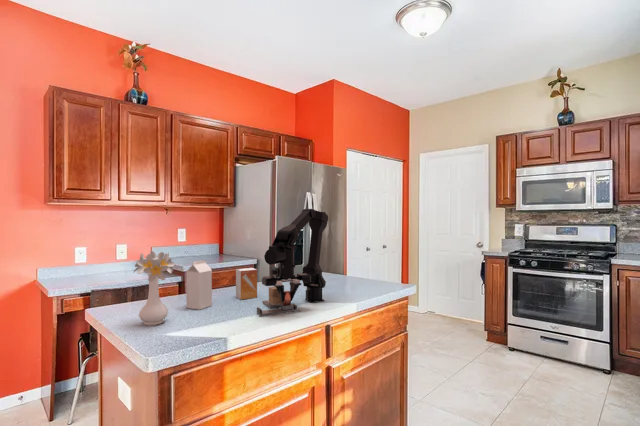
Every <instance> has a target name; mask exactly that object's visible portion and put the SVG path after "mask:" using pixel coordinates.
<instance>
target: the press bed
mask: <svg viewBox="0 0 640 426" xmlns="http://www.w3.org/2000/svg"><path fill="white" fill-rule="evenodd" d="M262 303H263V304H262V305H264V306H265V307H267V308H268V309H269V308H270V309H269V310H272V309H271V308H273V309H280V304H283V303H276V304H272V303H271V302H269V299H267V300H262Z"/></svg>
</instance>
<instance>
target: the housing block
mask: <svg viewBox="0 0 640 426" xmlns="http://www.w3.org/2000/svg"><path fill="white" fill-rule="evenodd" d="M268 300H269V302H271V303H272V304H276V303H283V302H282V301H281V298H280V295H279V293H278V290H277V288H276V287H275V286H268Z"/></svg>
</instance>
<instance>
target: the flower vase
mask: <svg viewBox="0 0 640 426" xmlns="http://www.w3.org/2000/svg"><path fill="white" fill-rule="evenodd" d="M144 255H145V254H144V253H143V252H142V253H141V254H140V256H139V259H138V260H136V263H135V264H134V268H135V269H134V270H133V274H134V273H135V272H136V273H137V274H139V275H141V274H143V273H145V274H147V275H148V279H147V281H148V297H147V300H146V303H145V304H144V305H143V307H142V308H141V309H140V310H139V314H138V317H139V319H140V320H141V321H142V322H143V324H144V325H145V326H157V325H159V324H160V325H161V324H162V323H163V322H164V319H166V318H167V316H168V314H169V310H168V308H167V306H166V305H165V304H164V303H163V302H162V301H161V298H160V293H159V292H160V291H159V280H161V281H165V280H166V275H165V274H164V273H163V272H166V271H167V272H168V273H169V274H172V273H173V272H174V266H175V265H176V264H175V262H174V261H172V257H170V252H168V253H164V251H163V252H161V251H160V252H159V253H158V254H156V252H155V251H153V250H150V253H148V254H147V255H146V257H145V256H144Z"/></svg>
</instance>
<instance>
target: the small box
mask: <svg viewBox="0 0 640 426" xmlns="http://www.w3.org/2000/svg"><path fill="white" fill-rule="evenodd" d="M256 297H257V298H258V269H257V268H254V267H248V268H247V267H244V268H236V269H235V298H237V299H239V300H247V299H255V298H256ZM257 298H256V299H257Z"/></svg>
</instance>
